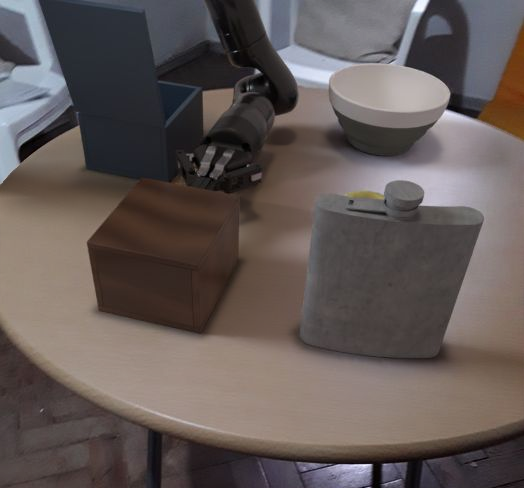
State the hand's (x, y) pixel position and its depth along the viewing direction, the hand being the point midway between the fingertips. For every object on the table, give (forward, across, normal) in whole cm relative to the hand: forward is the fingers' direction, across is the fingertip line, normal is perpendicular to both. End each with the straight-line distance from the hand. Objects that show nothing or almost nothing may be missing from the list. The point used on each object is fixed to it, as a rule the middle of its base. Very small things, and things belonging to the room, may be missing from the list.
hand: (196, 199), depth 80 cm
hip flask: (+13, +25, +7) cm, 29 cm away
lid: (-11, -16, -11) cm, 22 cm away
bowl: (-38, +19, +7) cm, 43 cm away
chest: (-20, -16, +7) cm, 27 cm away
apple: (-5, +21, +7) cm, 23 cm away
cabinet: (+10, 0, +6) cm, 12 cm away
